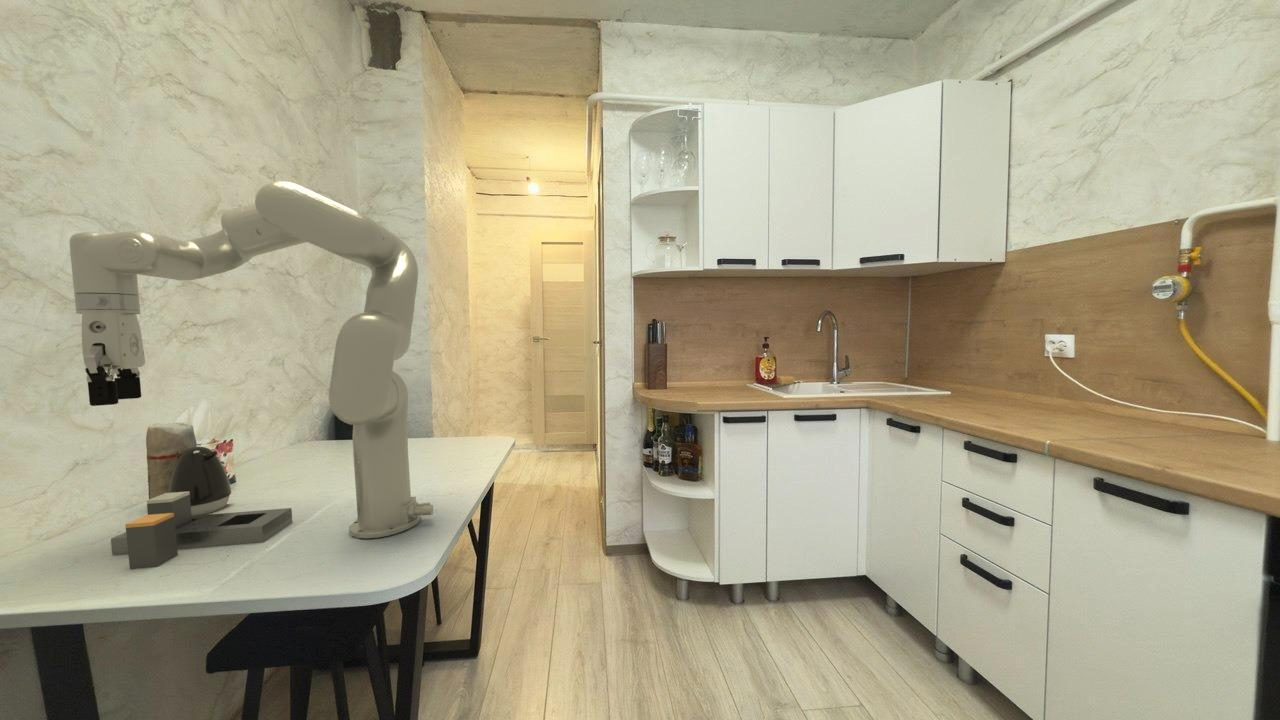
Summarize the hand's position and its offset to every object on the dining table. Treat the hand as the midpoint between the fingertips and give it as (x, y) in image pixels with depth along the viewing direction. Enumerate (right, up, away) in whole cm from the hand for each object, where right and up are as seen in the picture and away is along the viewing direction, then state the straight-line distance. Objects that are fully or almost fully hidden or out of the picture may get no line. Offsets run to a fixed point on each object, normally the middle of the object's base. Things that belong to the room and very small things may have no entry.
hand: (117, 401), depth 83 cm
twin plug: (+6, -26, +4) cm, 27 cm away
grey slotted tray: (+12, -27, +5) cm, 30 cm away
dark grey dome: (-3, -27, +20) cm, 34 cm away
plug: (+11, -28, -4) cm, 30 cm away
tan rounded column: (-13, -27, +23) cm, 38 cm away
